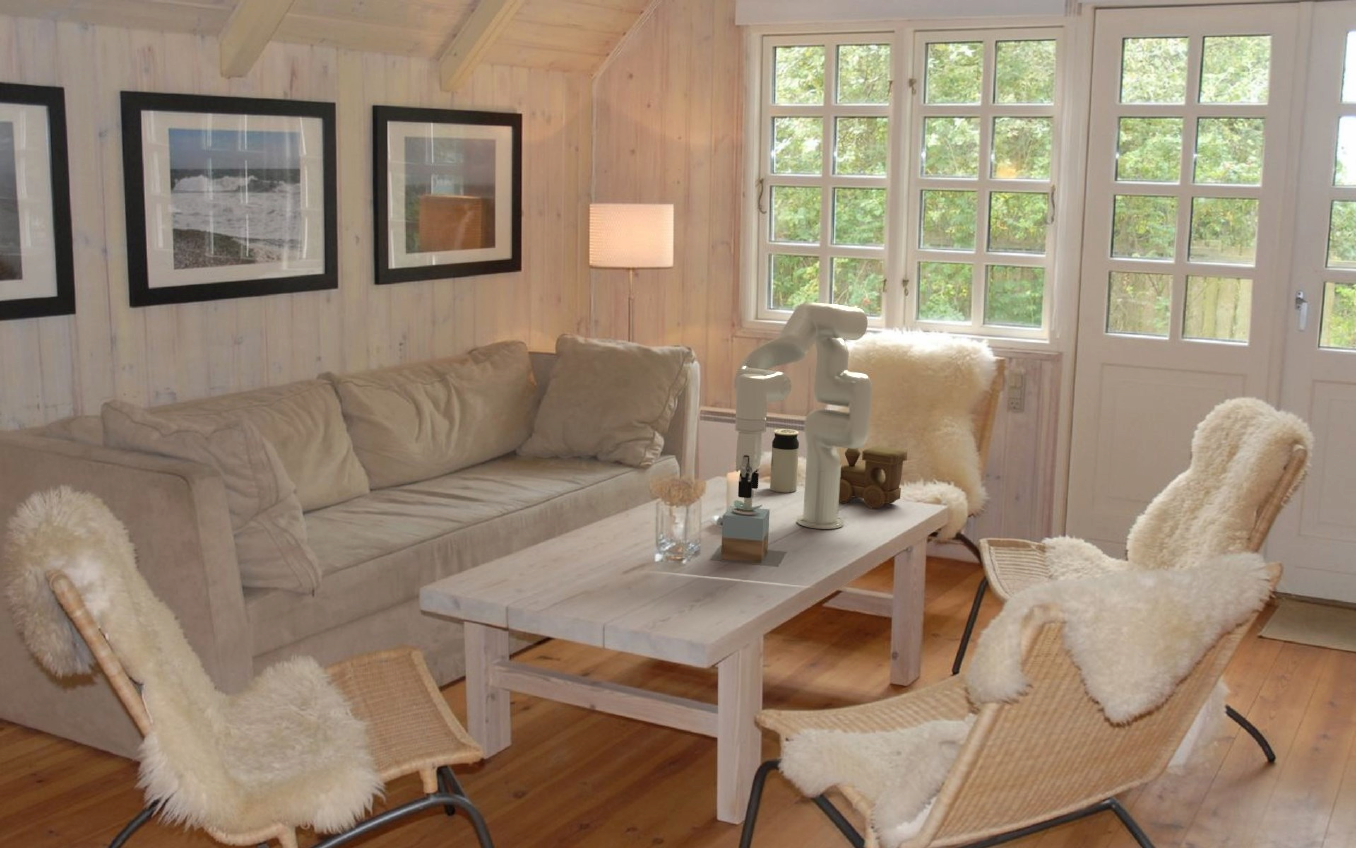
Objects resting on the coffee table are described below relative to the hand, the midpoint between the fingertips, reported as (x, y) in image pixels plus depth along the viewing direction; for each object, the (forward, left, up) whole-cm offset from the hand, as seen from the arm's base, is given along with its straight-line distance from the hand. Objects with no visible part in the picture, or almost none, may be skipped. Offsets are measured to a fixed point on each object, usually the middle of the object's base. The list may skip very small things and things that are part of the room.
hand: (748, 492), depth 345 cm
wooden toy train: (-69, +24, -17) cm, 74 cm away
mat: (0, +1, -16) cm, 16 cm away
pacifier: (+1, 0, -5) cm, 5 cm away
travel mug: (-76, -2, -17) cm, 78 cm away
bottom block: (0, 0, -16) cm, 16 cm away
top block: (0, 0, -10) cm, 10 cm away
